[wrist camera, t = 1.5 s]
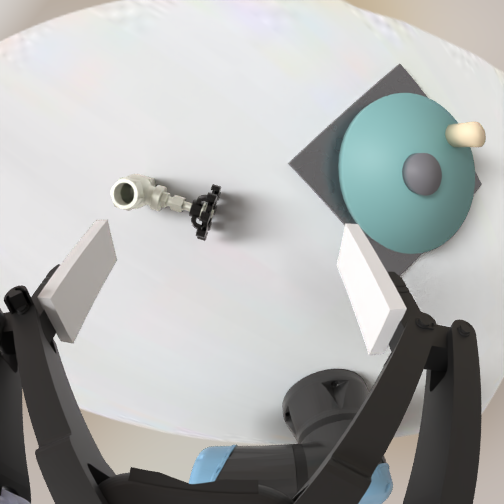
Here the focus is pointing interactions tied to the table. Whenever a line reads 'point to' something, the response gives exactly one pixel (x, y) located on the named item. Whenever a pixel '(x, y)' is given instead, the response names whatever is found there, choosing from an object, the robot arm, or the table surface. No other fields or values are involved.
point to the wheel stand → (327, 158)
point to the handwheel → (408, 172)
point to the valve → (164, 200)
